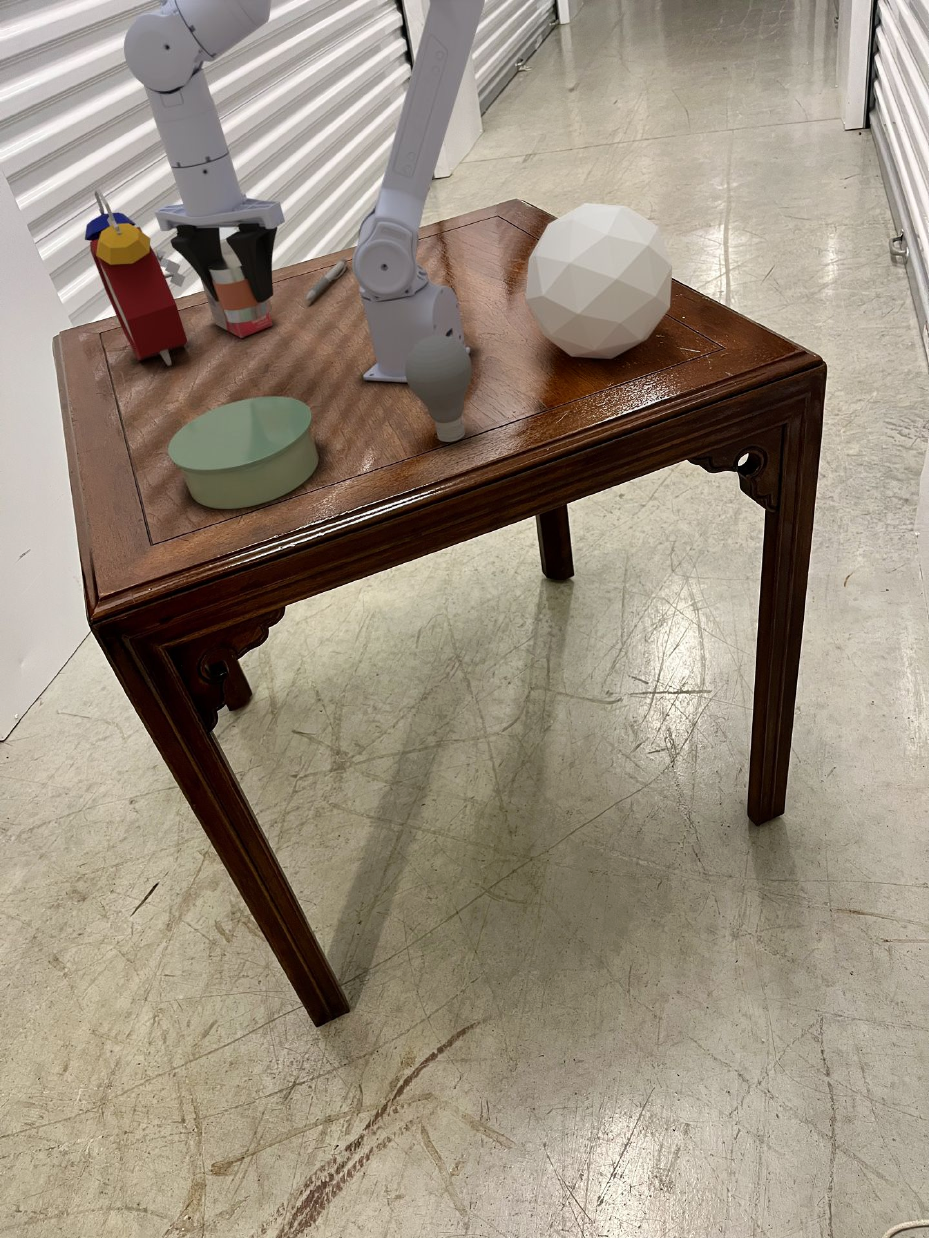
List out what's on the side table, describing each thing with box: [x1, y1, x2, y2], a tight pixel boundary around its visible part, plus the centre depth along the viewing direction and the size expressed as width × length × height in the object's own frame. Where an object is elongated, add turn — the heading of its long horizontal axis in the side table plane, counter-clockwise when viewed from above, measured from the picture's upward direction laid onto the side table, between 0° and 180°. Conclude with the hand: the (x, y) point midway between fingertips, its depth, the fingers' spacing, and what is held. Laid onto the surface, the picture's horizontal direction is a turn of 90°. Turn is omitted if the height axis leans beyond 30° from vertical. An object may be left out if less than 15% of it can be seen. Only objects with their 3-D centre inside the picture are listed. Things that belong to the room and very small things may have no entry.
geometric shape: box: [524, 202, 673, 360], centre depth 94 cm, size 14×15×15 cm
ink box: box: [200, 227, 273, 339], centre depth 118 cm, size 9×5×12 cm, turn 35°
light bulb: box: [405, 335, 473, 443], centre depth 86 cm, size 6×6×10 cm
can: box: [208, 254, 273, 323], centre depth 97 cm, size 5×5×6 cm
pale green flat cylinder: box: [167, 395, 319, 510], centre depth 89 cm, size 14×14×4 cm
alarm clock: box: [84, 187, 188, 367], centre depth 113 cm, size 15×9×20 cm, turn 27°
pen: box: [306, 258, 347, 301], centre depth 128 cm, size 1×14×1 cm, turn 164°
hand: (244, 298), depth 98 cm, fingers closed on can, 5 cm apart
